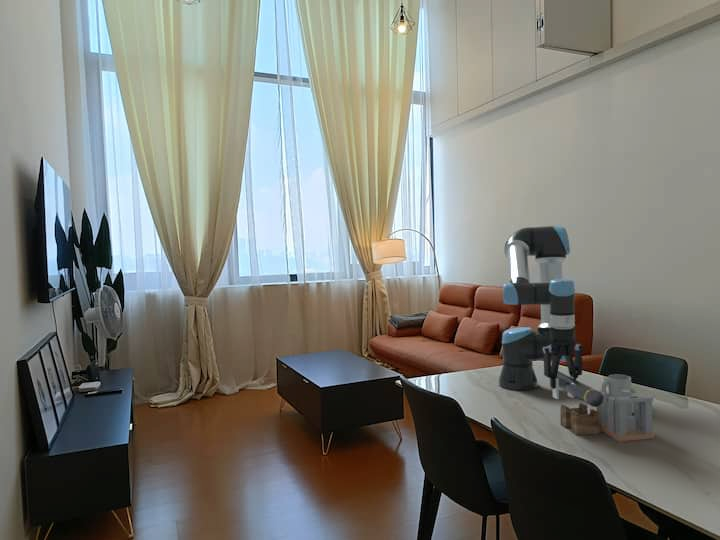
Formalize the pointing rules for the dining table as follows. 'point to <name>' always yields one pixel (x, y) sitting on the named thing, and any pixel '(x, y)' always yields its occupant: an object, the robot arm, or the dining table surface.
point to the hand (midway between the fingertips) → (563, 397)
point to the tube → (580, 390)
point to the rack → (580, 419)
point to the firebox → (626, 416)
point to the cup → (616, 385)
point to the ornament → (632, 395)
